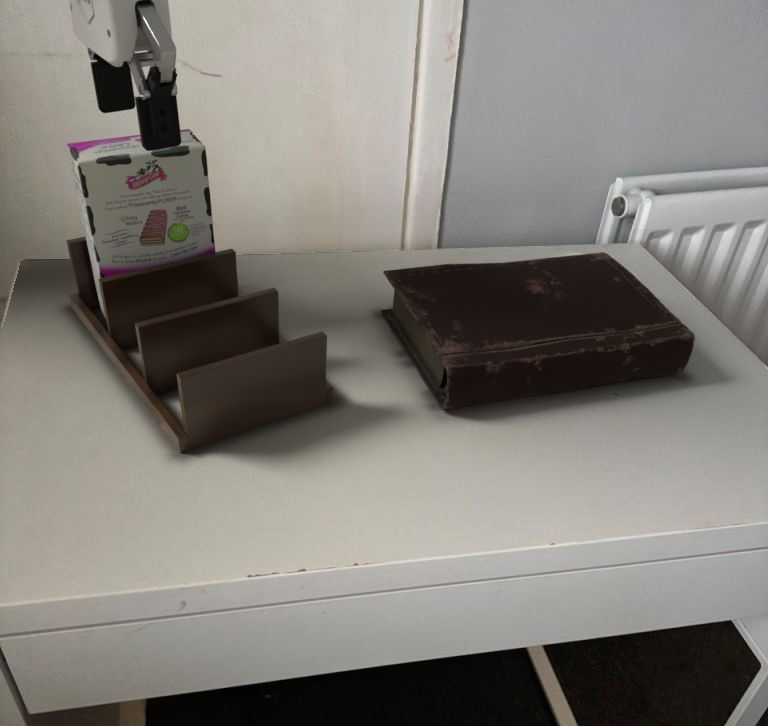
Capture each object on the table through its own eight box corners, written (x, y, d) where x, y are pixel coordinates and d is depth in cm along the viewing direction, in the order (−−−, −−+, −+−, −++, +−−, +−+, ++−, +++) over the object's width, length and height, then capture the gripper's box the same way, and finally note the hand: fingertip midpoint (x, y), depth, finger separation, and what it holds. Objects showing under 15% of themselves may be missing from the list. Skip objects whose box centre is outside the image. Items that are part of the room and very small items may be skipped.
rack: (72, 308, 82) (57, 241, 78) (207, 275, 89) (202, 212, 84) (180, 453, 68) (170, 381, 63) (333, 401, 74) (335, 333, 69)
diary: (684, 380, 80) (701, 335, 77) (444, 418, 73) (450, 370, 70) (589, 286, 93) (600, 243, 89) (377, 311, 86) (380, 265, 82)
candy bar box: (206, 290, 87) (191, 126, 75) (222, 313, 84) (209, 146, 72) (97, 310, 82) (64, 139, 71) (110, 335, 79) (77, 161, 68)
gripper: (12, -139, 62) (61, 103, 74) (94, -102, 52) (136, 171, 64) (109, -141, 66) (141, 92, 78) (203, -106, 56) (224, 155, 67)
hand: (139, 128), depth 71 cm, fingers open, 9 cm apart
